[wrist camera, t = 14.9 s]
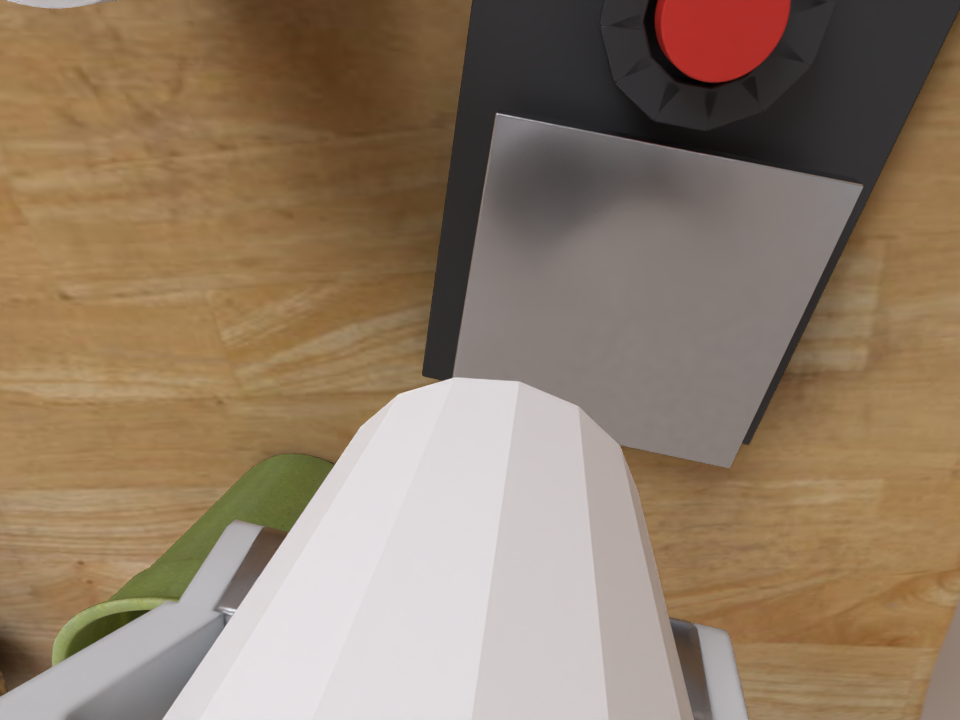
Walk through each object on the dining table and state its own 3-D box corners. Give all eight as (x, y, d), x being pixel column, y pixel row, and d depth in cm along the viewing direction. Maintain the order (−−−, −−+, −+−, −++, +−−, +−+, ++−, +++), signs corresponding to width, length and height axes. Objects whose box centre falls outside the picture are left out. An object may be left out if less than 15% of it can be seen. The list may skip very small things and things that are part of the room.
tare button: (674, -65, 17) (683, -70, 16) (793, -43, 17) (812, -45, 16) (640, 63, 19) (645, 70, 18) (748, 84, 19) (762, 93, 17)
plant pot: (447, 576, 35) (397, 801, 26) (254, 587, 38) (143, 794, 28) (383, 396, 30) (289, 596, 20) (162, 423, 32) (-15, 612, 23)
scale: (497, -151, 19) (485, -172, 17) (974, -65, 19) (1038, -71, 16) (426, 362, 28) (411, 400, 26) (743, 428, 28) (759, 474, 25)
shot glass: (659, 320, 10) (770, 826, 4) (683, 617, 13) (765, 1138, 7) (262, 367, 12) (-82, 788, 6) (371, 623, 15) (227, 1061, 9)
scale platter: (498, 107, 20) (495, 112, 19) (856, 177, 20) (865, 184, 19) (450, 397, 26) (446, 409, 25) (726, 456, 25) (730, 469, 25)
